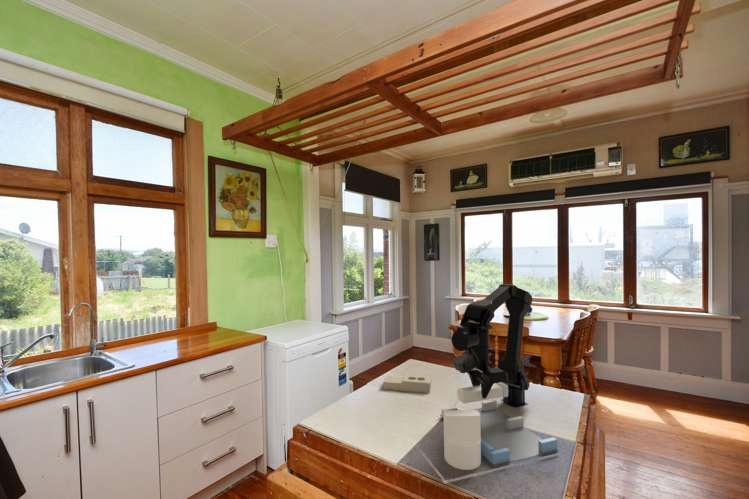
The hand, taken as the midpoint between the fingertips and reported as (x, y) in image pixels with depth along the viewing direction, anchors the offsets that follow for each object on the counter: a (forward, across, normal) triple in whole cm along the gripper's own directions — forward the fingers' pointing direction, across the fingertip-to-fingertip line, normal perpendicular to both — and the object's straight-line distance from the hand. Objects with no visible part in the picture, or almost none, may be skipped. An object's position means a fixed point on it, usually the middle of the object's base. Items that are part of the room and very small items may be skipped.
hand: (480, 395), depth 102 cm
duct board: (+8, +6, 0) cm, 10 cm away
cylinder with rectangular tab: (+9, +14, -16) cm, 23 cm away
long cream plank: (+1, 0, 0) cm, 1 cm away
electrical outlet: (+9, -34, -10) cm, 36 cm away
